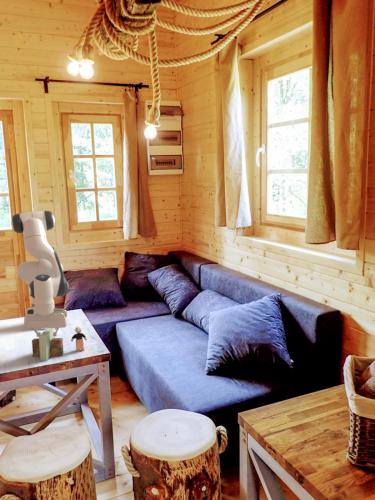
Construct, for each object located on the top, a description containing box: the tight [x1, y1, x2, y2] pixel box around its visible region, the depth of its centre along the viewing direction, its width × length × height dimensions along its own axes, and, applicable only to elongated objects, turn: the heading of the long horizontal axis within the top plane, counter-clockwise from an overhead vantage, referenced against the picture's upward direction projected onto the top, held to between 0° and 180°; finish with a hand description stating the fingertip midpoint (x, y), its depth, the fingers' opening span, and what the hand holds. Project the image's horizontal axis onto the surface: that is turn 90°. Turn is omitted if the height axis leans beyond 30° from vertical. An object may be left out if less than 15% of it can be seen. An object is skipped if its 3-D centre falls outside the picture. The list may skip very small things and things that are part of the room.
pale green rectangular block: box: [38, 328, 56, 362], centre depth 209 cm, size 14×3×12 cm, turn 1°
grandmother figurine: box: [70, 325, 88, 353], centre depth 213 cm, size 8×4×13 cm, turn 117°
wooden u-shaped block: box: [31, 337, 65, 357], centre depth 209 cm, size 14×3×8 cm, turn 91°
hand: (47, 336), depth 208 cm, fingers open, 7 cm apart
